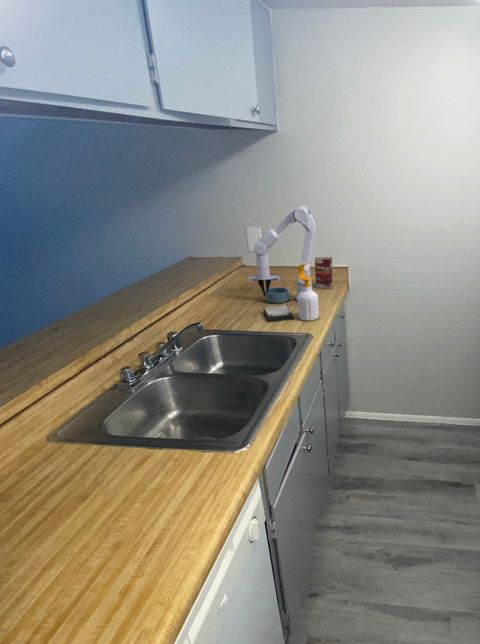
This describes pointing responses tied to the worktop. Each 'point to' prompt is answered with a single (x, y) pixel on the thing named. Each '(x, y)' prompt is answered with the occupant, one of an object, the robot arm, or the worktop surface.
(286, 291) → the bowl
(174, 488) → the worktop surface
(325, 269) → the supplement box
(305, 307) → the spray bottle
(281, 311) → the scale
